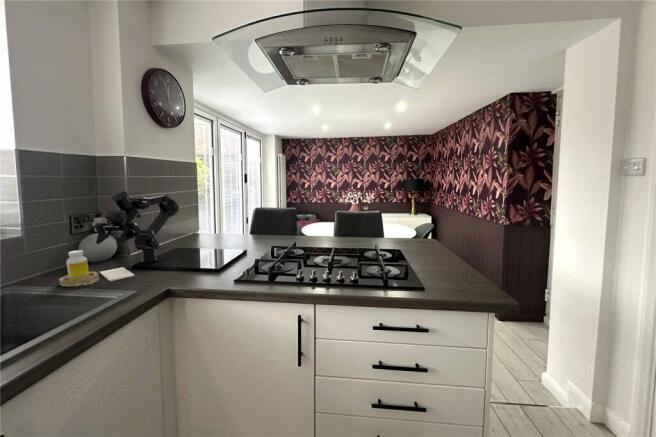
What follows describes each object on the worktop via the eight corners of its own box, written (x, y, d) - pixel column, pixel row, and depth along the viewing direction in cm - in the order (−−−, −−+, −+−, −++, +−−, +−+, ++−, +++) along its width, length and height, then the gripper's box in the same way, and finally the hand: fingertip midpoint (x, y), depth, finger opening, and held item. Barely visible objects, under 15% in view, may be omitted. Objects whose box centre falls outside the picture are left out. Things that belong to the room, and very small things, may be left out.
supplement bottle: (93, 281, 132) (89, 250, 130) (73, 286, 127) (69, 254, 125) (85, 278, 136) (81, 248, 134) (66, 283, 130) (62, 252, 128)
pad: (100, 273, 143) (99, 271, 143) (123, 268, 149) (123, 267, 149) (109, 281, 132) (109, 280, 132) (134, 275, 138) (134, 274, 138)
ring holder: (58, 282, 131) (57, 276, 131) (94, 275, 140) (93, 269, 139) (63, 290, 123) (62, 283, 122) (101, 281, 131) (100, 276, 131)
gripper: (97, 204, 141) (74, 230, 130) (137, 204, 139) (117, 230, 128) (111, 222, 149) (90, 248, 138) (149, 223, 147) (131, 249, 135)
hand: (106, 244), depth 134 cm, fingers open, 9 cm apart
